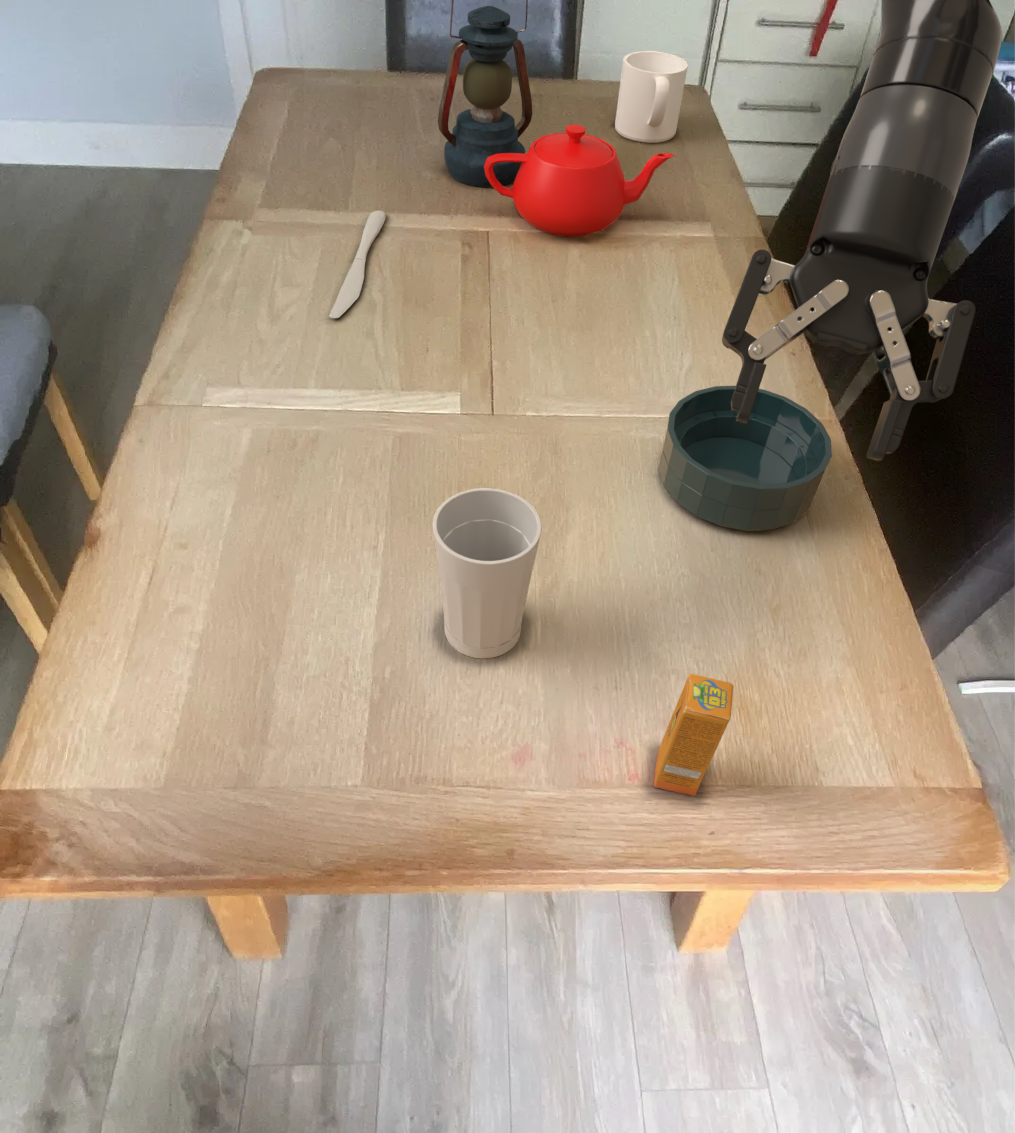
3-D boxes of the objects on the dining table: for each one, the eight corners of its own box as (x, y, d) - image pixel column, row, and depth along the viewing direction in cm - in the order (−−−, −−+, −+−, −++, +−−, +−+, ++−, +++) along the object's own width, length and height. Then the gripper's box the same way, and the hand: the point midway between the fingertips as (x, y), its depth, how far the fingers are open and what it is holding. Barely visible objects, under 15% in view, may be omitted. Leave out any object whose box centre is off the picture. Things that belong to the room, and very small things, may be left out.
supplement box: (699, 799, 65) (731, 722, 58) (652, 788, 65) (678, 710, 58) (703, 760, 67) (734, 681, 60) (657, 749, 68) (683, 669, 60)
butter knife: (393, 211, 123) (372, 207, 123) (348, 320, 105) (322, 316, 105) (393, 215, 123) (372, 211, 123) (348, 324, 105) (322, 320, 105)
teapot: (481, 242, 119) (484, 148, 111) (483, 189, 130) (486, 100, 121) (669, 250, 120) (686, 158, 111) (655, 197, 131) (671, 109, 122)
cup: (523, 673, 72) (533, 571, 63) (424, 658, 72) (421, 554, 64) (536, 599, 77) (548, 495, 68) (445, 585, 78) (445, 480, 69)
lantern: (454, 195, 128) (456, -107, 103) (425, 161, 136) (420, -129, 110) (544, 182, 133) (567, -111, 107) (512, 149, 140) (526, -132, 114)
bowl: (810, 446, 93) (828, 399, 89) (814, 549, 83) (835, 501, 79) (664, 422, 95) (674, 375, 90) (650, 520, 85) (661, 471, 80)
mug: (610, 117, 151) (618, 50, 143) (669, 119, 151) (680, 51, 144) (622, 149, 142) (632, 79, 135) (684, 150, 143) (697, 80, 135)
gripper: (784, 136, 53) (700, 404, 55) (1033, 192, 51) (936, 469, 53) (771, 181, 61) (697, 415, 63) (989, 231, 58) (905, 473, 60)
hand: (807, 440), depth 58 cm, fingers open, 8 cm apart
